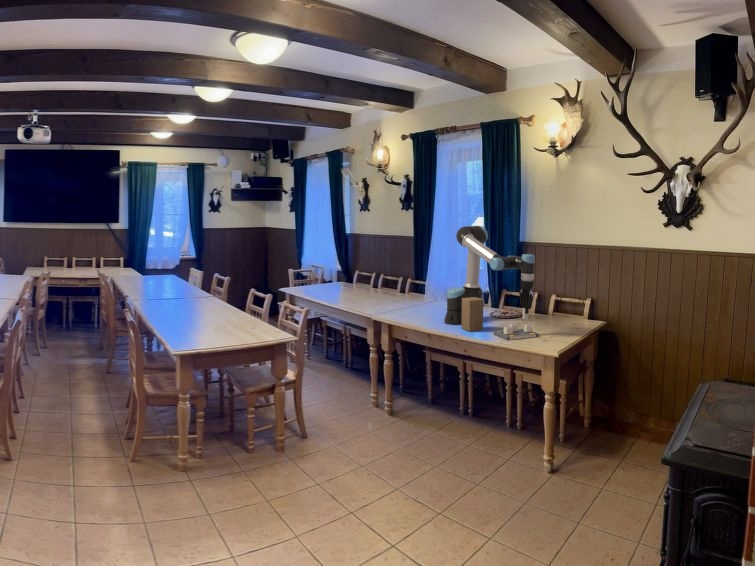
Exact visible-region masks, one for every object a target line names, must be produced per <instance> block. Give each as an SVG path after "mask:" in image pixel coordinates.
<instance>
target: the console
mask: <svg viewBox="0 0 755 566" xmlns="http://www.w3.org/2000/svg"><path fill="white" fill-rule="evenodd" d="M493 336H495V337H497V338H501V339H503V340H505V341H513V340H519V339H520V340H521V339H530V338H538V337H539V333H538V332H535V331H533V330H532V332H524V328H518V331H514V332H512V334H507V335H506V334H504V330H498V331H493Z"/></svg>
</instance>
